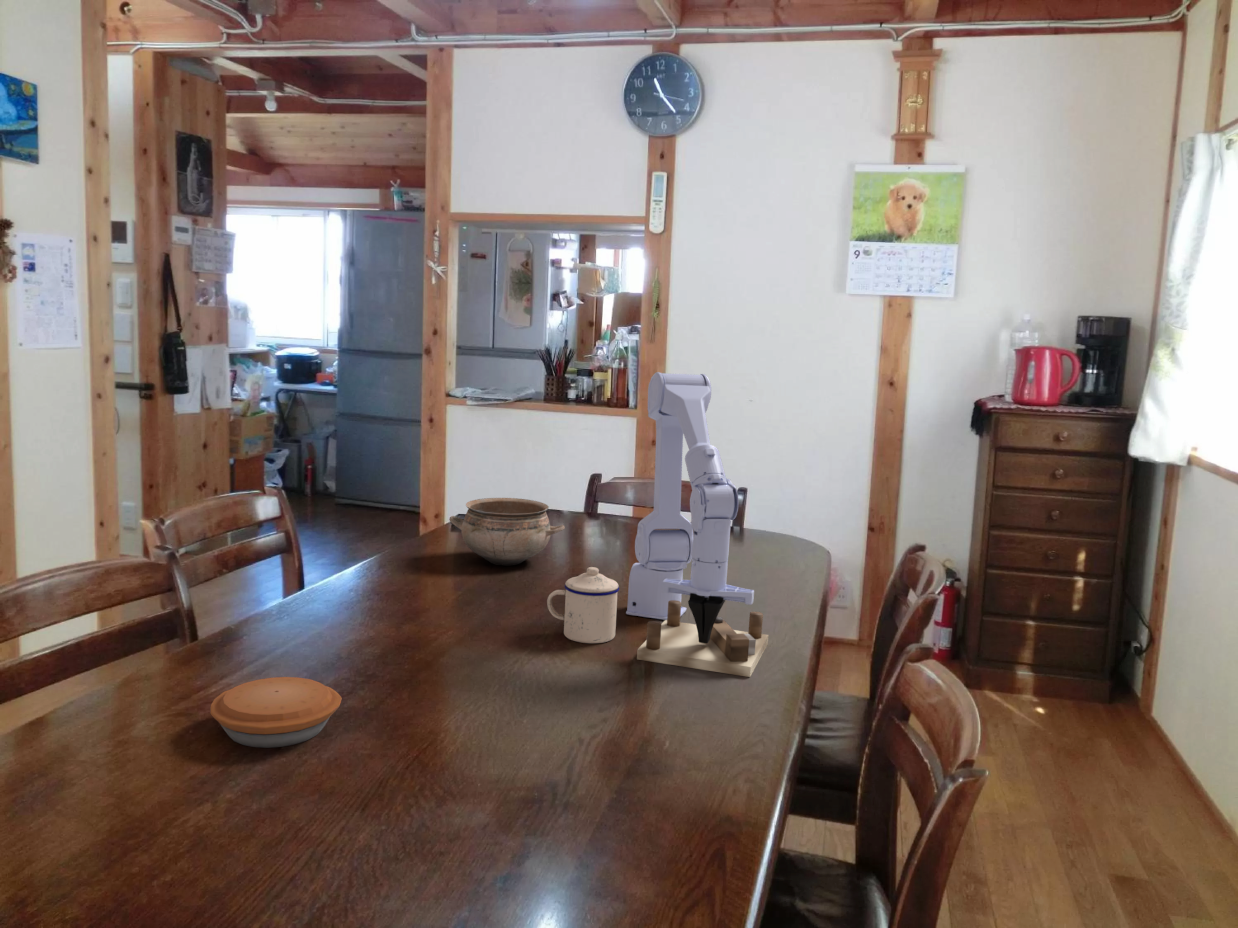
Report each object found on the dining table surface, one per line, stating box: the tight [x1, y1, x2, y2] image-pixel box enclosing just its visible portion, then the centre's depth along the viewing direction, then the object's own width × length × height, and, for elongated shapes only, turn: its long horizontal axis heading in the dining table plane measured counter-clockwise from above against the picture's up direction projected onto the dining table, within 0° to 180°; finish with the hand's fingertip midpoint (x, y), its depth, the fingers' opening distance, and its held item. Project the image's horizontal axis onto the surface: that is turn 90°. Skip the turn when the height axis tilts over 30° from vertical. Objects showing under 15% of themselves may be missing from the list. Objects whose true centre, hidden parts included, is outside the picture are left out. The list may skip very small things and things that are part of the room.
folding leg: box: [710, 616, 749, 661], centre depth 161 cm, size 14×3×4 cm, turn 11°
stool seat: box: [636, 600, 770, 678], centre depth 163 cm, size 18×17×6 cm
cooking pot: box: [449, 497, 566, 566], centre depth 214 cm, size 25×19×12 cm
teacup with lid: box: [546, 566, 620, 644], centre depth 168 cm, size 12×9×12 cm
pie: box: [210, 676, 342, 749], centre depth 126 cm, size 16×16×5 cm
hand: (704, 641), depth 161 cm, fingers closed
